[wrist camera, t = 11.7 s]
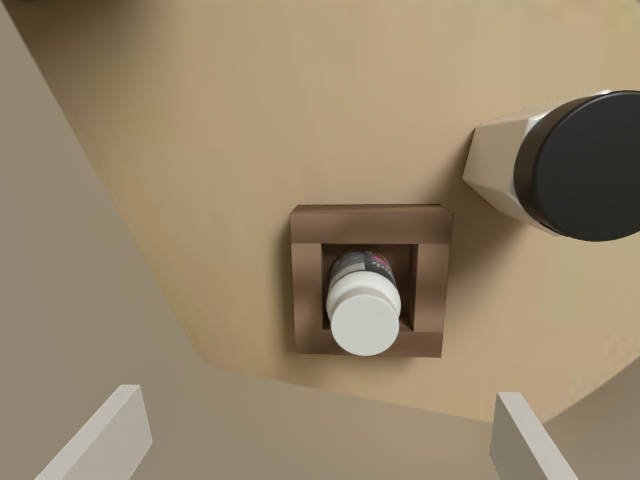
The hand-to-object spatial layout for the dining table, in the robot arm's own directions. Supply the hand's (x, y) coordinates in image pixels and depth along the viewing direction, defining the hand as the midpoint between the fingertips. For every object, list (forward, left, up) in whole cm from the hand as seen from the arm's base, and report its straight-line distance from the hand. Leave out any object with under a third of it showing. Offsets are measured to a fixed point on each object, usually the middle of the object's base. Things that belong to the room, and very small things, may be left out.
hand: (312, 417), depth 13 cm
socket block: (+2, +3, -22) cm, 22 cm away
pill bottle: (+2, +2, -21) cm, 21 cm away
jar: (-8, +15, -22) cm, 28 cm away
